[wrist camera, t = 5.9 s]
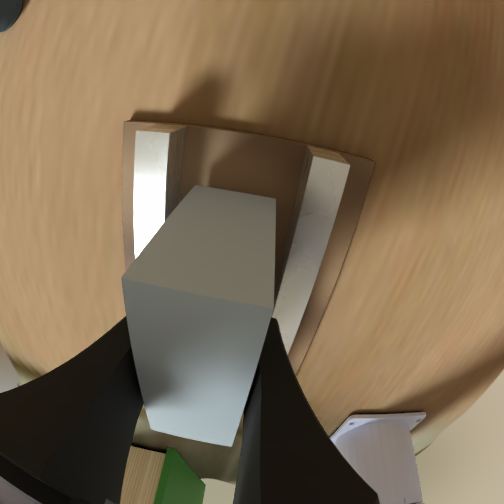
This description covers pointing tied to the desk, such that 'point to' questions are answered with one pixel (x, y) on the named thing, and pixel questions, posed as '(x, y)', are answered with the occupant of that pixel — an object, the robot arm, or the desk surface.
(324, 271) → the track floor
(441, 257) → the desk surface
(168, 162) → the track rails
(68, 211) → the desk surface
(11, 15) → the vaping device
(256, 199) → the pale blue rectangular block
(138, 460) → the hardback book
